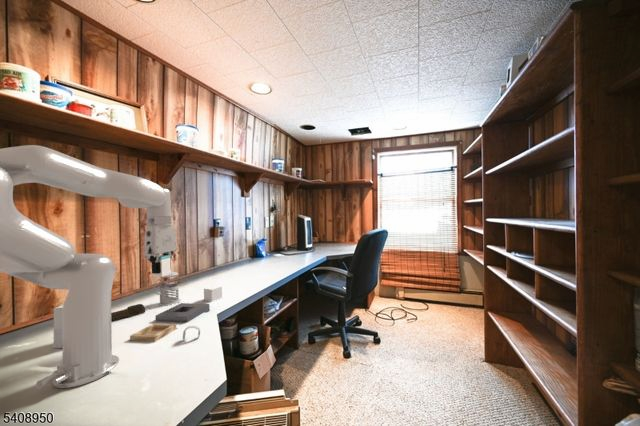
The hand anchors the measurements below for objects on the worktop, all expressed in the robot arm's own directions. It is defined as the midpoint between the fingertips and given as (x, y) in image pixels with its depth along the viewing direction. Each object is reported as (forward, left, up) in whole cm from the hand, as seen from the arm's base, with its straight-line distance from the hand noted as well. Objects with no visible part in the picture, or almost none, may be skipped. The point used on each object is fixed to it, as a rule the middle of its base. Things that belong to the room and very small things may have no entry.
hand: (161, 271), depth 89 cm
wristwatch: (-6, -16, -22) cm, 28 cm away
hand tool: (+8, +29, -22) cm, 37 cm away
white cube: (+35, +3, -22) cm, 41 cm away
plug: (0, 0, -1) cm, 1 cm away
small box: (-10, +25, -22) cm, 35 cm away
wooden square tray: (-4, 0, -22) cm, 22 cm away
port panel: (+13, +2, -22) cm, 25 cm away
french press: (+28, +23, -22) cm, 42 cm away
